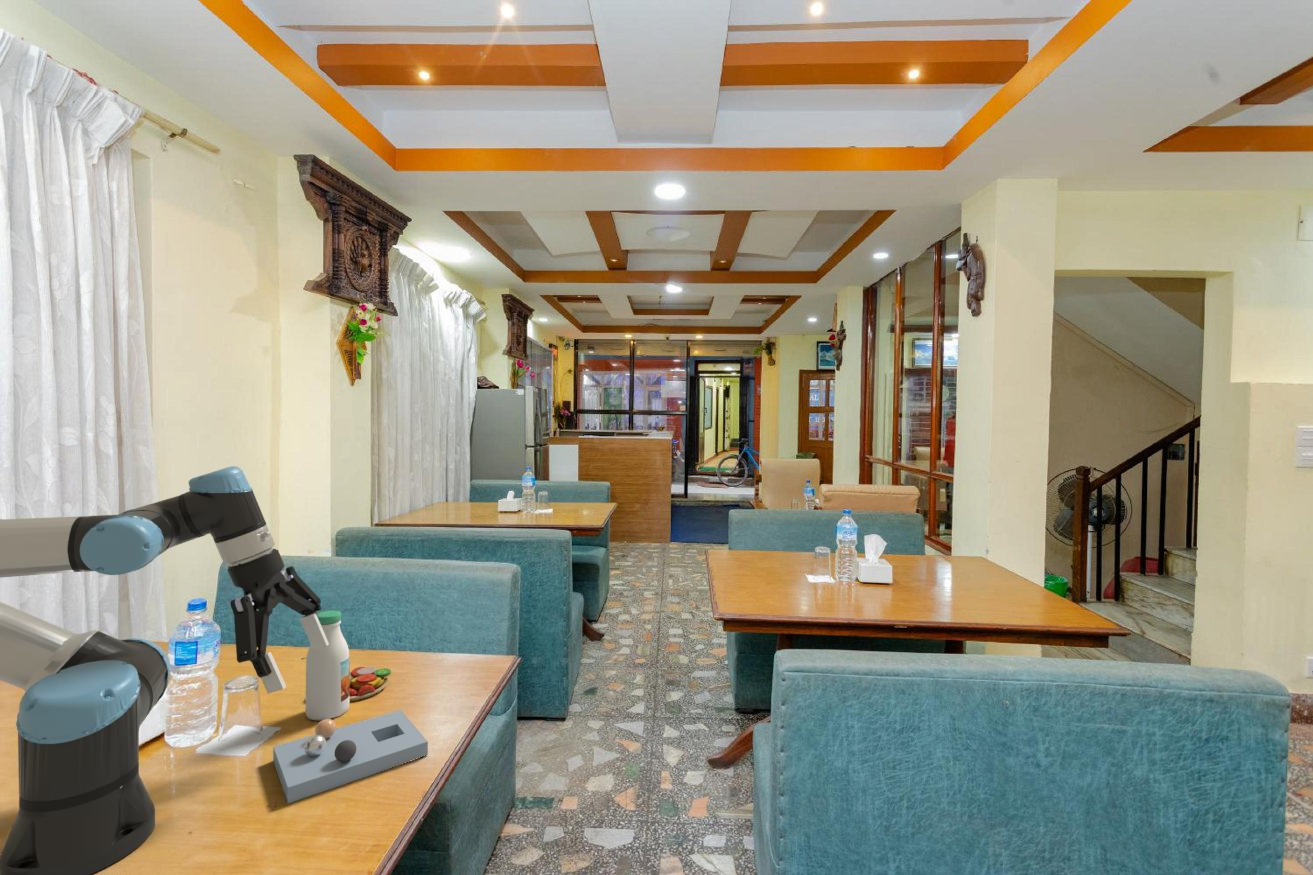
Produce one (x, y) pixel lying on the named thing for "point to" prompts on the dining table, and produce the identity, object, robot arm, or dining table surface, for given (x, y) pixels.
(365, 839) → the dining table surface
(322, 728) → the terracotta ball
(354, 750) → the black ball
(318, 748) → the steel ball
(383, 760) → the board
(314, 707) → the milk bottle
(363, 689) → the toy food set
